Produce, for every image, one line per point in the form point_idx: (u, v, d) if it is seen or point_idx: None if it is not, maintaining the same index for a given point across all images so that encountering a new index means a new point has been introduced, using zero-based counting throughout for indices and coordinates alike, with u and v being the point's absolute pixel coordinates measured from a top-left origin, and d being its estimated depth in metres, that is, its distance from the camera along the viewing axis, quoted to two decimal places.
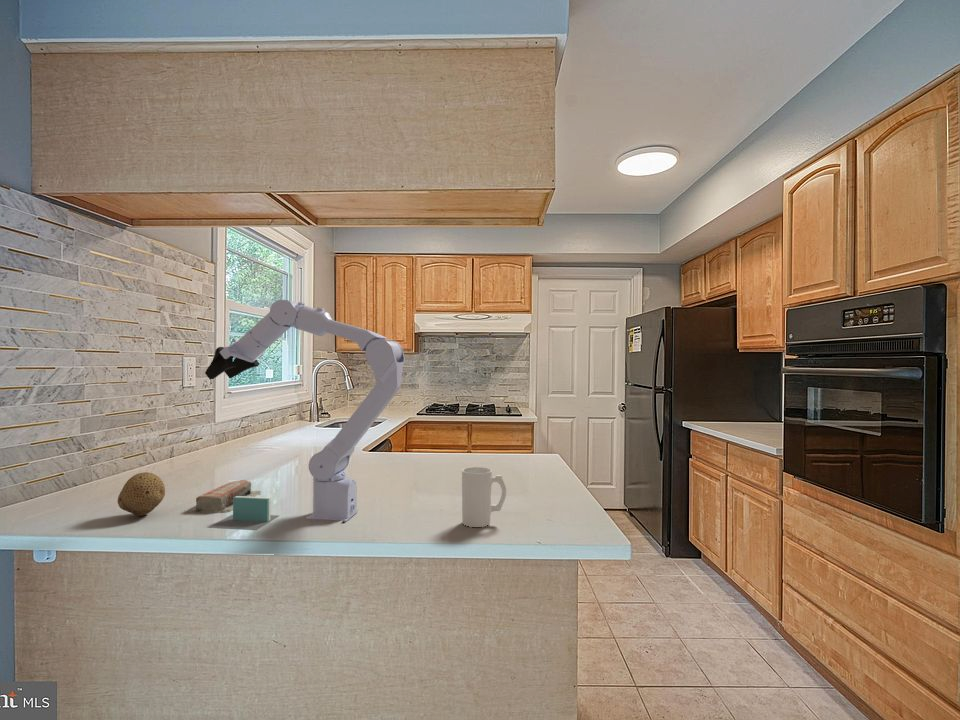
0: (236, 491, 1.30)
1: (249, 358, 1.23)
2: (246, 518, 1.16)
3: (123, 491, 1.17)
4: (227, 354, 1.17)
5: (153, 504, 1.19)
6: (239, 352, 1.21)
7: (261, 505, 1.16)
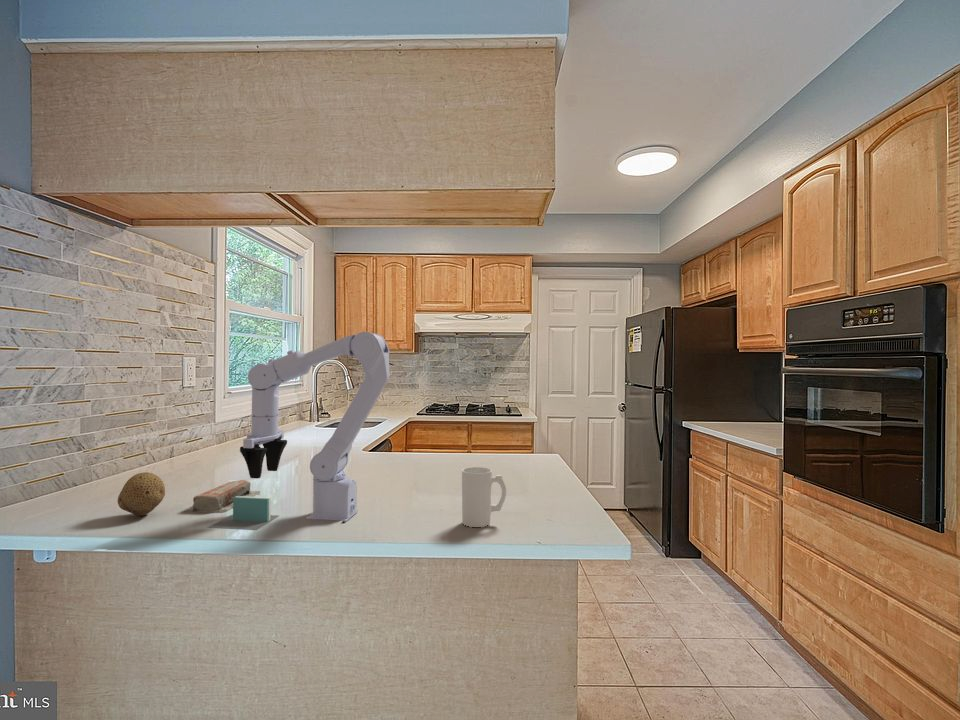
0: (234, 491, 1.30)
1: (271, 435, 1.20)
2: (246, 518, 1.16)
3: (123, 491, 1.17)
4: (250, 443, 1.15)
5: (153, 504, 1.19)
6: (259, 437, 1.19)
7: (261, 505, 1.16)
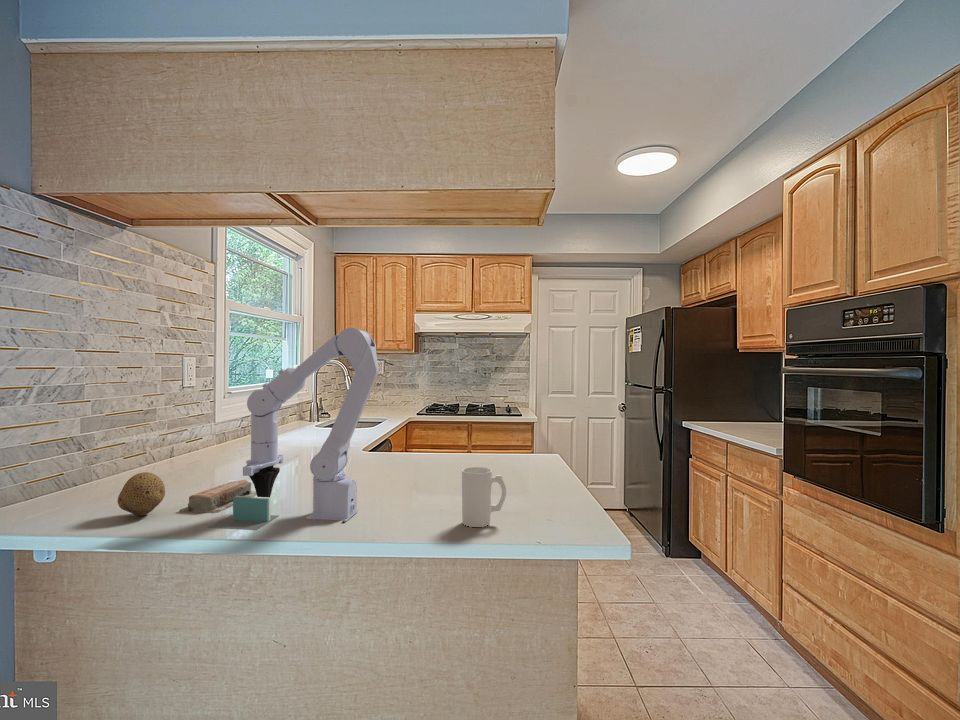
0: (231, 491, 1.30)
1: (271, 461, 1.20)
2: (246, 518, 1.16)
3: (123, 491, 1.17)
4: (249, 470, 1.15)
5: (153, 504, 1.19)
6: (259, 464, 1.19)
7: (261, 505, 1.16)
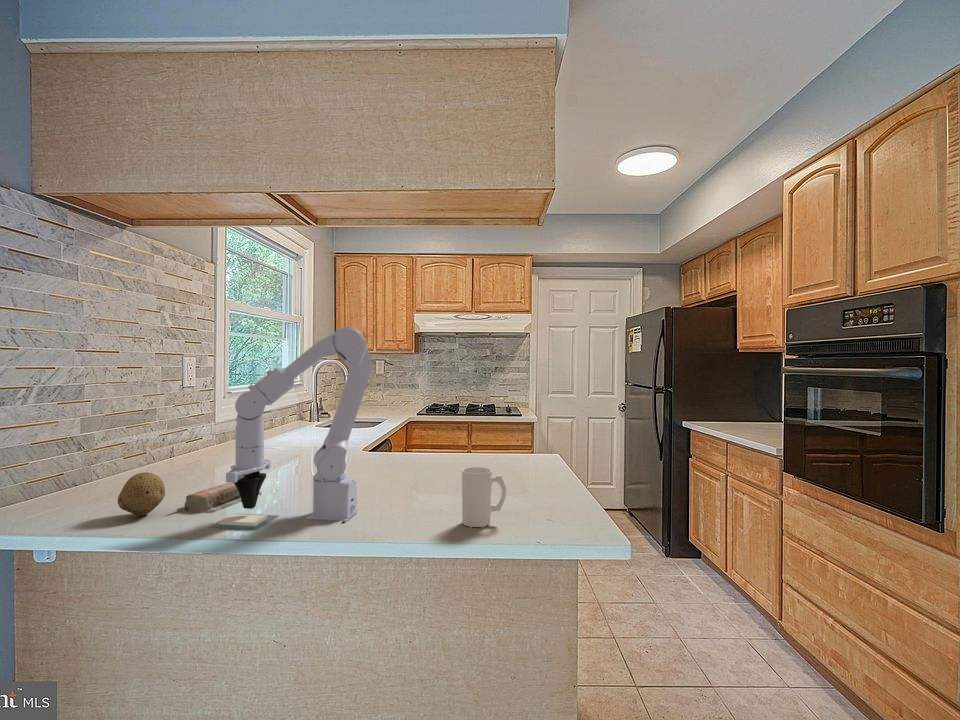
0: (229, 491, 1.30)
1: (256, 467, 1.14)
2: None
3: (123, 491, 1.17)
4: (233, 476, 1.09)
5: (153, 504, 1.19)
6: (244, 469, 1.13)
7: None
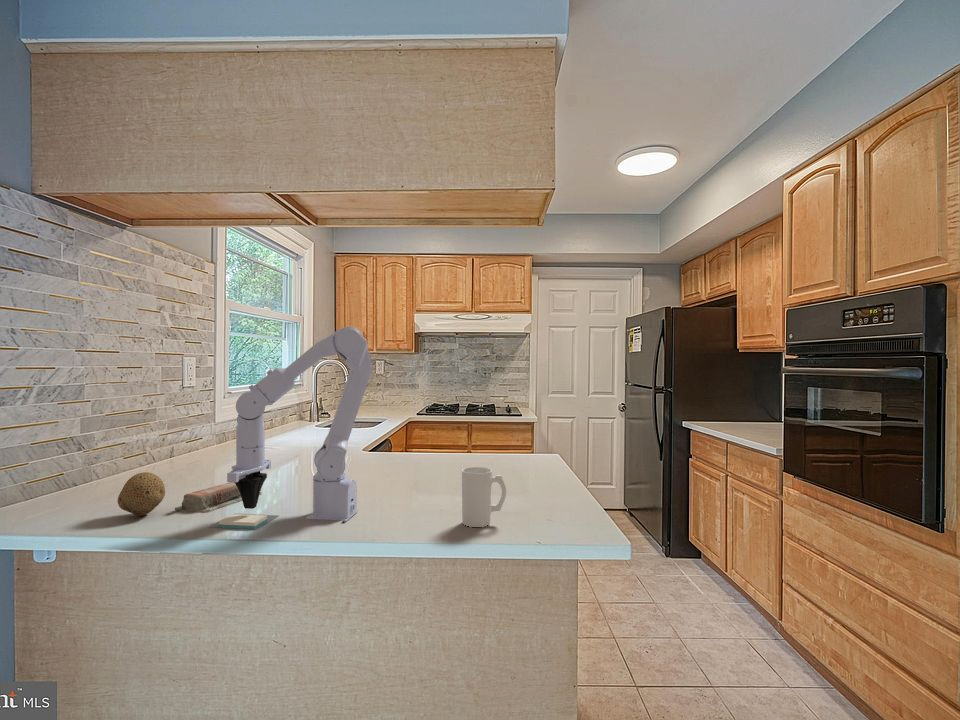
0: (227, 491, 1.30)
1: (257, 467, 1.14)
2: None
3: (123, 491, 1.17)
4: (234, 476, 1.09)
5: (153, 504, 1.19)
6: (245, 469, 1.13)
7: None
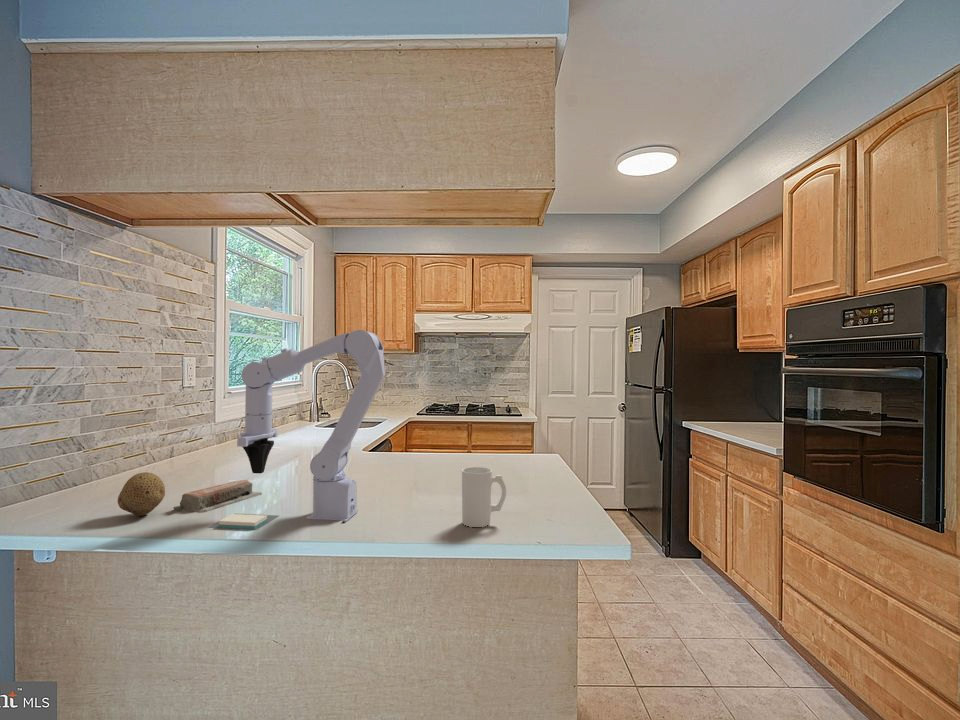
0: (226, 491, 1.30)
1: (265, 433, 1.20)
2: None
3: (123, 491, 1.17)
4: (244, 441, 1.15)
5: (153, 504, 1.19)
6: (253, 435, 1.19)
7: None
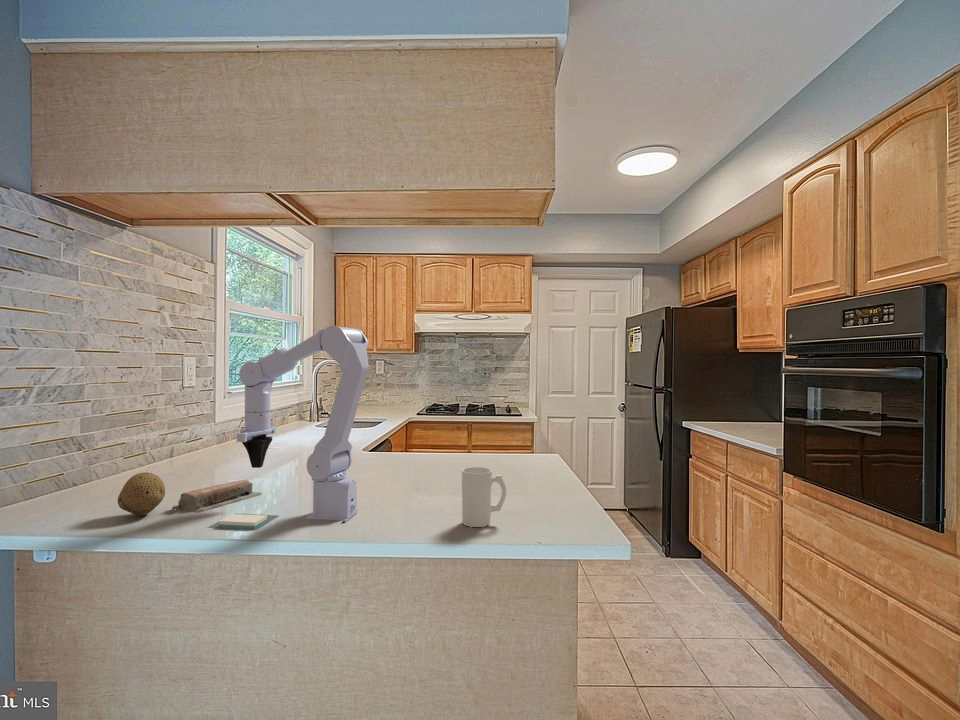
0: (224, 491, 1.30)
1: (264, 430, 1.26)
2: None
3: (123, 491, 1.17)
4: (243, 437, 1.21)
5: (153, 504, 1.19)
6: (252, 432, 1.25)
7: None
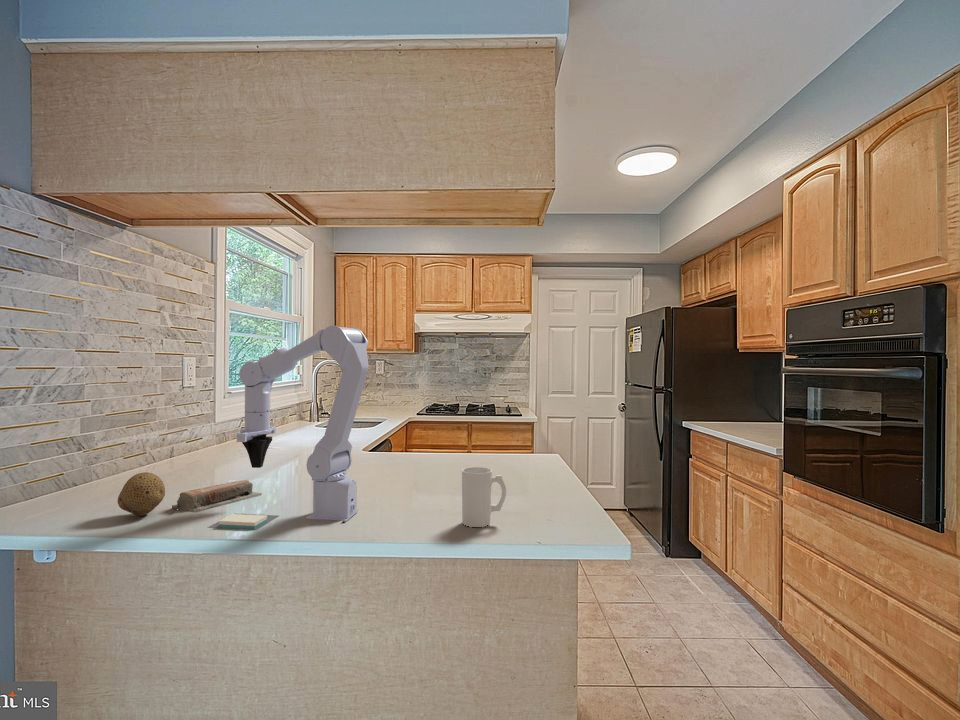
0: (223, 491, 1.30)
1: (264, 430, 1.26)
2: None
3: (123, 491, 1.17)
4: (243, 437, 1.21)
5: (153, 504, 1.19)
6: (252, 432, 1.25)
7: None
